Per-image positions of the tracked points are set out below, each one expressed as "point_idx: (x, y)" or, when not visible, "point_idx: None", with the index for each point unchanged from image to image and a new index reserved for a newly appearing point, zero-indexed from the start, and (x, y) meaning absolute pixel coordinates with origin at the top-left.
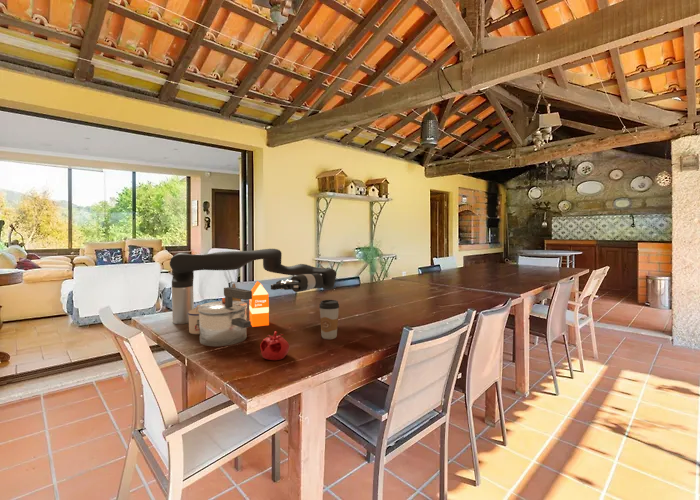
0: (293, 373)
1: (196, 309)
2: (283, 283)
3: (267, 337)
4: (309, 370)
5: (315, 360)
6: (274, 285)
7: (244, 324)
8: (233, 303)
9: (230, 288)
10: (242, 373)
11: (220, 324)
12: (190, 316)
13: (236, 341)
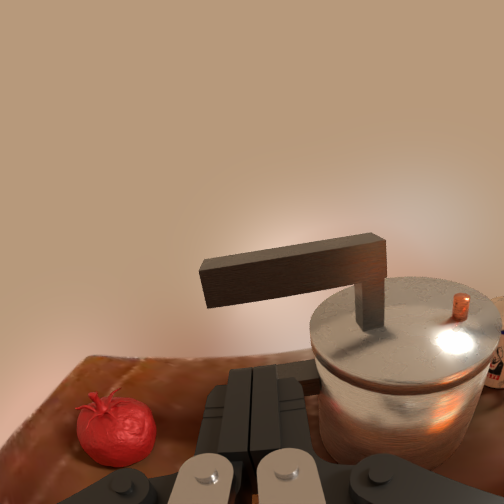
0: (56, 413)
1: (499, 299)
2: (172, 488)
3: (114, 391)
4: (33, 430)
5: (32, 467)
6: (229, 387)
7: None
8: (433, 338)
9: (341, 240)
10: (139, 379)
11: None
12: None
13: (320, 432)
